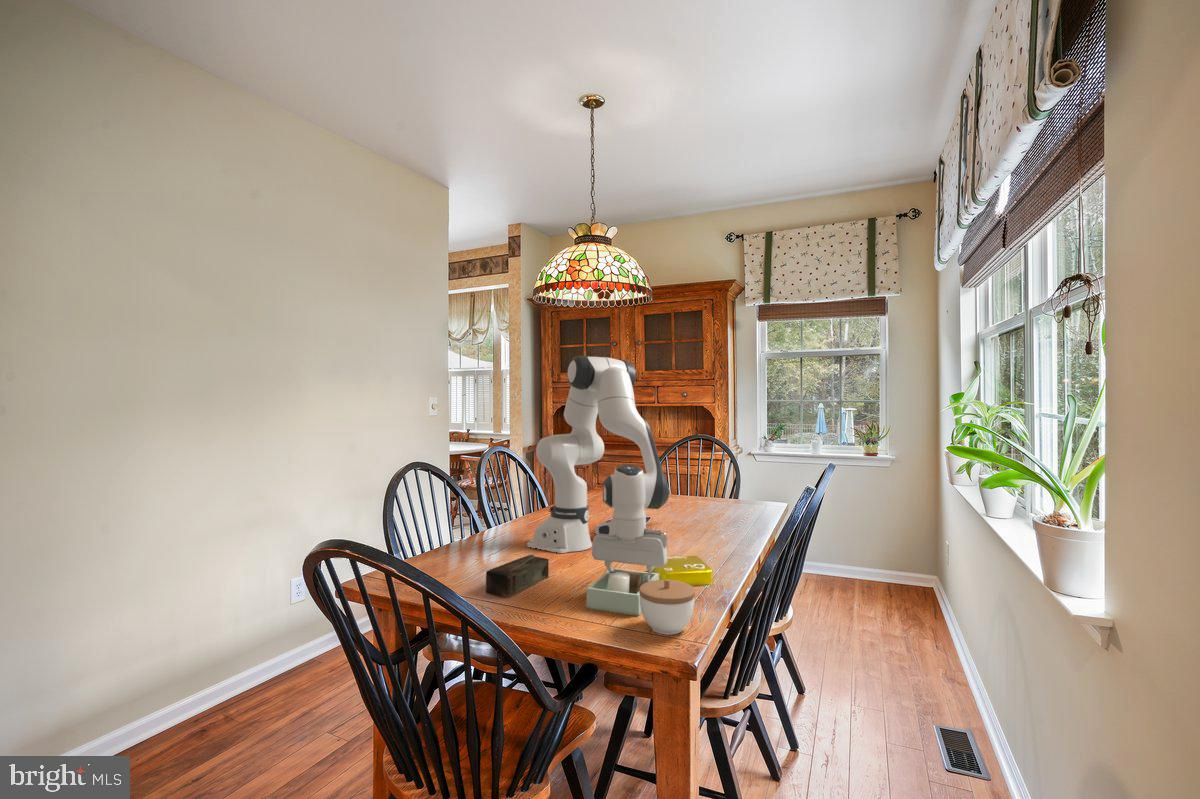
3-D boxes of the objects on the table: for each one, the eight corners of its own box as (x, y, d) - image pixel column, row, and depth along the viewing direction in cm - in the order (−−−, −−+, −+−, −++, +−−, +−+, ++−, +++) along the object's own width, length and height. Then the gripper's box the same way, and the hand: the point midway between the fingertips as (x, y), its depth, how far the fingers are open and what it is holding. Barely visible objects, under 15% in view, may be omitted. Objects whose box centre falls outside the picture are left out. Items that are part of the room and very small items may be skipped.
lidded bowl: (705, 627, 133) (705, 579, 133) (674, 645, 124) (674, 594, 124) (660, 613, 142) (660, 568, 142) (628, 629, 132) (628, 581, 132)
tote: (586, 608, 145) (586, 588, 145) (611, 585, 161) (611, 567, 161) (638, 616, 140) (638, 595, 140) (659, 592, 156) (659, 573, 156)
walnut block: (623, 588, 158) (623, 570, 157) (641, 590, 156) (641, 572, 156) (617, 594, 153) (616, 575, 153) (635, 597, 151) (635, 578, 151)
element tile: (698, 569, 177) (698, 553, 177) (714, 586, 162) (714, 568, 162) (649, 571, 175) (649, 555, 175) (662, 588, 160) (662, 571, 160)
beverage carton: (550, 578, 168) (550, 556, 168) (507, 600, 152) (506, 574, 152) (528, 574, 172) (528, 552, 172) (484, 594, 156) (483, 570, 156)
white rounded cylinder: (610, 598, 150) (611, 571, 150) (629, 600, 149) (630, 573, 149) (607, 605, 145) (608, 578, 145) (627, 607, 144) (628, 579, 144)
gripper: (670, 528, 153) (670, 580, 153) (598, 521, 161) (598, 571, 161) (663, 533, 147) (664, 588, 147) (589, 526, 155) (589, 578, 155)
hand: (629, 579), depth 154 cm, fingers open, 8 cm apart
